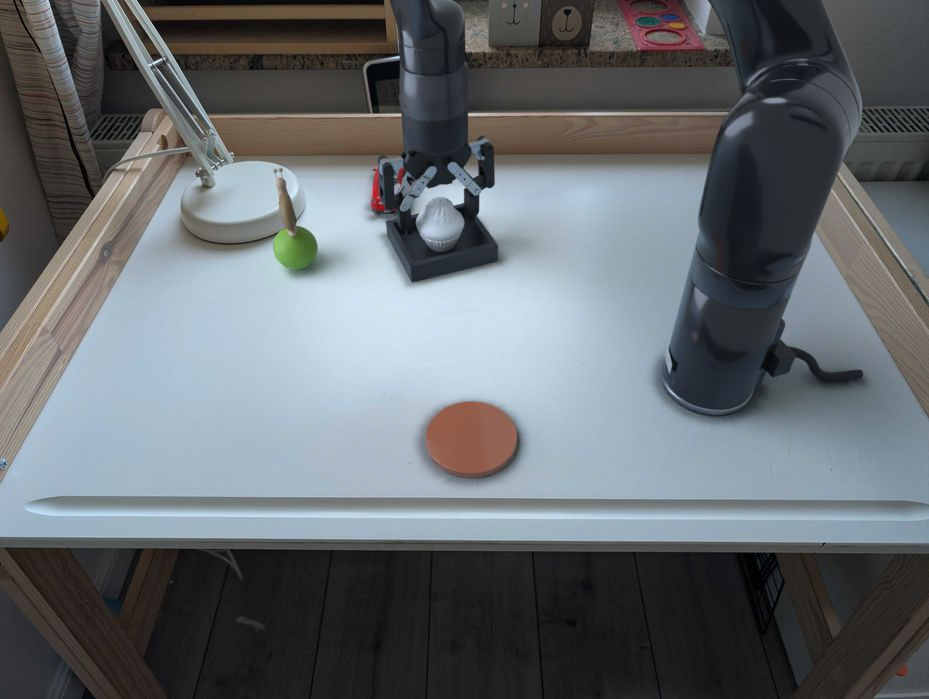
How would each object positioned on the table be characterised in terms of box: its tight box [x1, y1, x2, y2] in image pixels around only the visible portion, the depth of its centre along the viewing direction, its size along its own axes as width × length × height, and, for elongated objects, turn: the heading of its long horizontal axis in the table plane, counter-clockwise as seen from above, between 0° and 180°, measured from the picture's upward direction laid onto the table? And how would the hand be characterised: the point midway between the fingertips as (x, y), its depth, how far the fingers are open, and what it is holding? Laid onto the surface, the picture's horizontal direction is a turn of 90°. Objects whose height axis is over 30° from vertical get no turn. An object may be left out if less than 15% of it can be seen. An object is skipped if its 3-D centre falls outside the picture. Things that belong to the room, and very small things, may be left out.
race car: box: [370, 157, 407, 216], centre depth 102 cm, size 13×5×4 cm, turn 178°
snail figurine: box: [272, 167, 319, 271], centre depth 88 cm, size 5×6×12 cm
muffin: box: [416, 196, 464, 252], centre depth 91 cm, size 6×6×7 cm
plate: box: [425, 400, 518, 479], centre depth 71 cm, size 9×9×1 cm
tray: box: [385, 202, 499, 283], centre depth 93 cm, size 12×11×2 cm
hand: (439, 224), depth 91 cm, fingers open, 8 cm apart
